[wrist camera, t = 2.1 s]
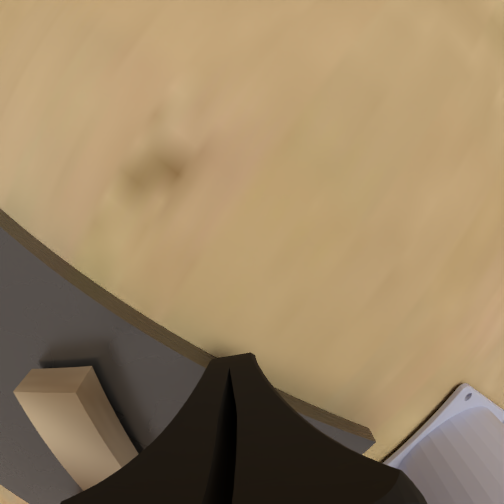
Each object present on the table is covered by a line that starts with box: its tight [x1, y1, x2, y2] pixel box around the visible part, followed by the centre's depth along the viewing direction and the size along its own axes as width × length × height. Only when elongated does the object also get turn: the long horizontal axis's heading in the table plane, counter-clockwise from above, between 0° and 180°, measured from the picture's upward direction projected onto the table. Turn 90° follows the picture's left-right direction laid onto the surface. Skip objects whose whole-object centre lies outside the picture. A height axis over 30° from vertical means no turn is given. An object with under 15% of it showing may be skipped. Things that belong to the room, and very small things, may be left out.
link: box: [13, 366, 138, 491], centre depth 11 cm, size 15×4×2 cm, turn 10°
